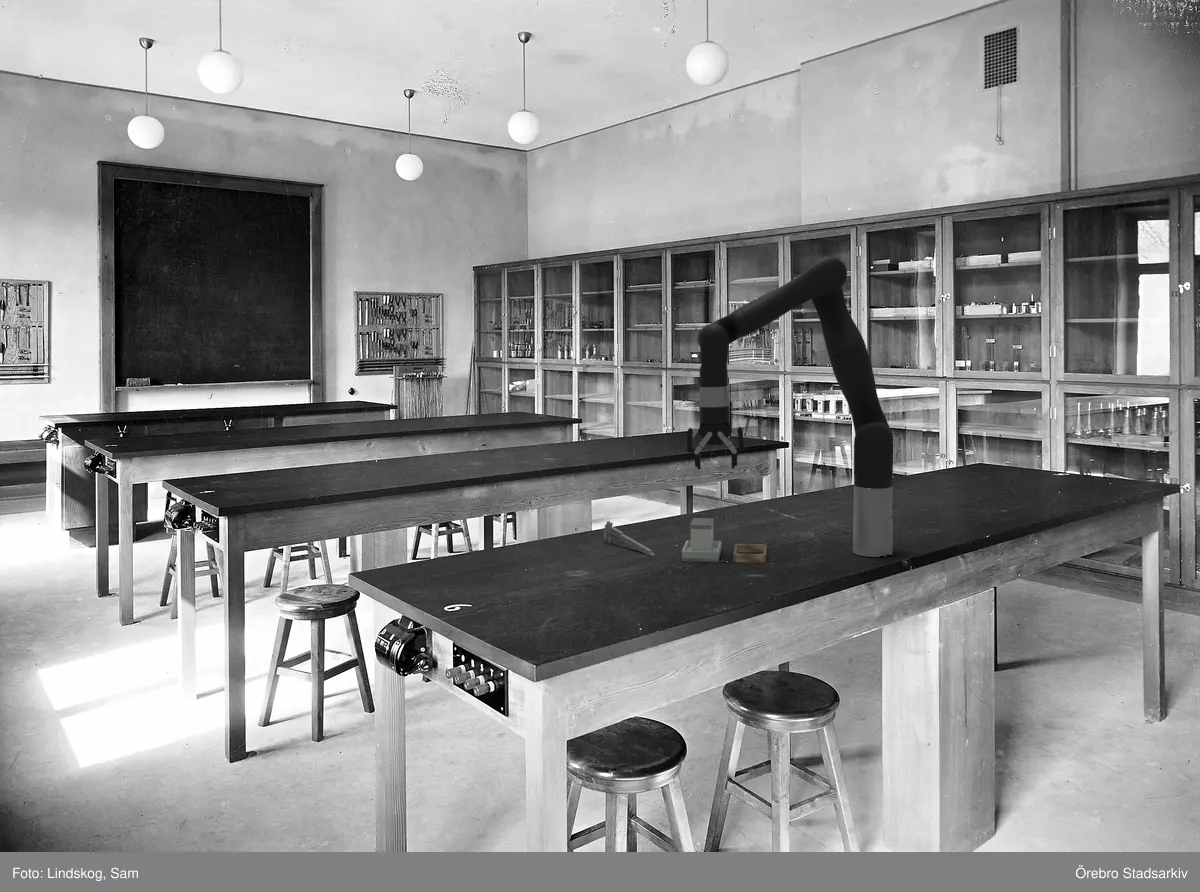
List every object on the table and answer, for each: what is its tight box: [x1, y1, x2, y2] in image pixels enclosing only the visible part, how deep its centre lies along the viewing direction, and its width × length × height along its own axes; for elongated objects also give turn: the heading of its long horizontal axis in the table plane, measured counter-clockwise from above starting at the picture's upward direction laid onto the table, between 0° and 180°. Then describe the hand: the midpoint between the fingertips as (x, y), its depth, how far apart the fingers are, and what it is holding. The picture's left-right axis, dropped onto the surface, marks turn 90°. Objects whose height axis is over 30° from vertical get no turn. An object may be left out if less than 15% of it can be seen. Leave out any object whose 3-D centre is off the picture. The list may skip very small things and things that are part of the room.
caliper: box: [603, 520, 656, 557], centre depth 240 cm, size 20×1×6 cm, turn 37°
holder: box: [732, 543, 767, 564], centre depth 229 cm, size 8×11×2 cm
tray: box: [681, 539, 722, 563], centre depth 231 cm, size 9×12×2 cm
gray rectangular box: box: [689, 517, 715, 552], centre depth 230 cm, size 5×8×8 cm, turn 169°
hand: (716, 468), depth 231 cm, fingers open, 8 cm apart
